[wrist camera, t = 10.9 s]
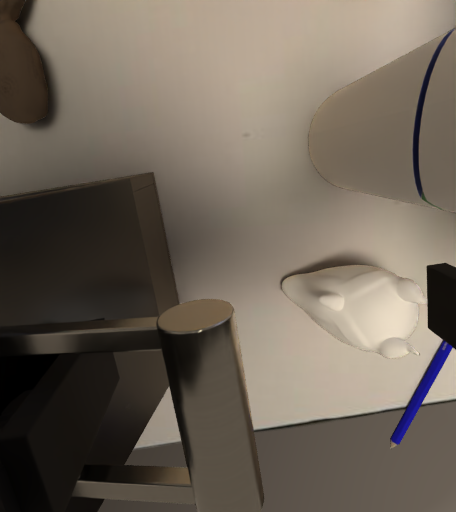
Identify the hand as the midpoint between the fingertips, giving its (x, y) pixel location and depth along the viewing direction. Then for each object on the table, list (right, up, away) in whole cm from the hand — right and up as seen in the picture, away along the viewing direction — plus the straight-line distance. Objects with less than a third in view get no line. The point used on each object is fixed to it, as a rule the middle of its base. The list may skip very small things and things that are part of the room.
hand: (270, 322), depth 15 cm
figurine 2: (-18, +19, +14) cm, 30 cm away
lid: (-8, -1, +1) cm, 8 cm away
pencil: (+18, -10, +23) cm, 30 cm away
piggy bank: (+5, 0, +21) cm, 22 cm away
